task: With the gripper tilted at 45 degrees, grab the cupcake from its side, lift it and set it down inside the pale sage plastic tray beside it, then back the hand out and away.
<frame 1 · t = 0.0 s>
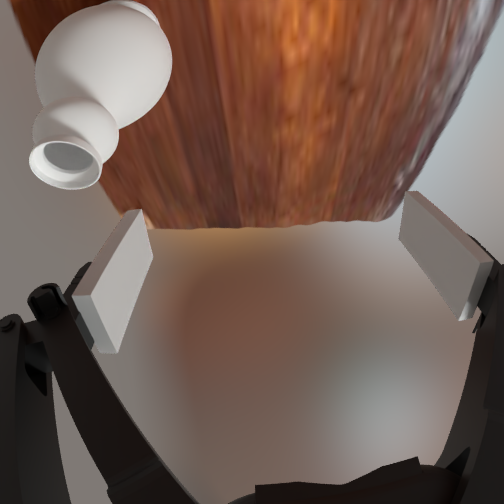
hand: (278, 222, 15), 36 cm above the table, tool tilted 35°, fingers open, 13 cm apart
decorative vase: (118, 34, 35), on the table
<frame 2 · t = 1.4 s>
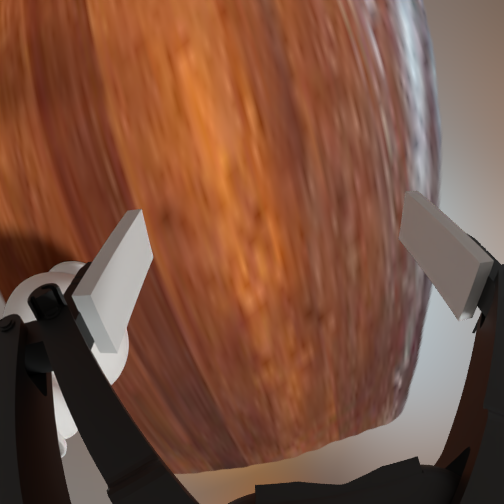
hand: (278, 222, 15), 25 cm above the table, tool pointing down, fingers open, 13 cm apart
decorative vase: (79, 297, 43), on the table
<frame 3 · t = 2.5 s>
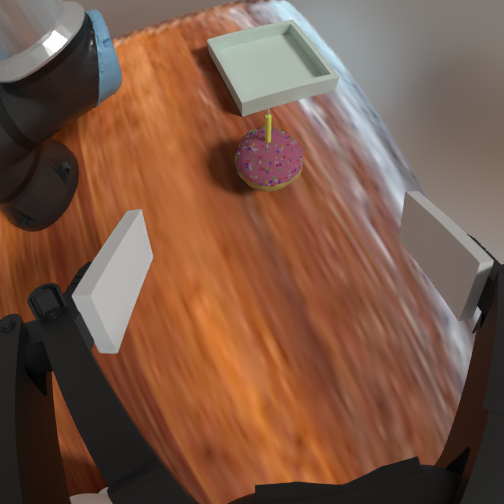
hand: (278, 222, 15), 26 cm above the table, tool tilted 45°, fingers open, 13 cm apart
cupcake: (267, 173, 43), on the table
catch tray: (269, 68, 47), on the table
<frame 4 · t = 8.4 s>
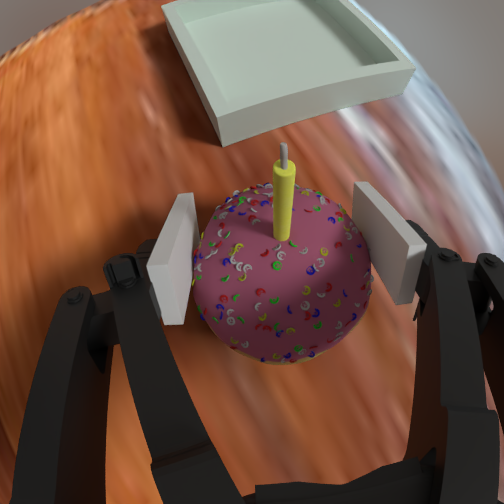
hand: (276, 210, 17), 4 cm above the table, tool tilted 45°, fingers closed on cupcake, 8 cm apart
cupcake: (278, 285, 20), on the table, touching gripper
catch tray: (278, 50, 24), on the table
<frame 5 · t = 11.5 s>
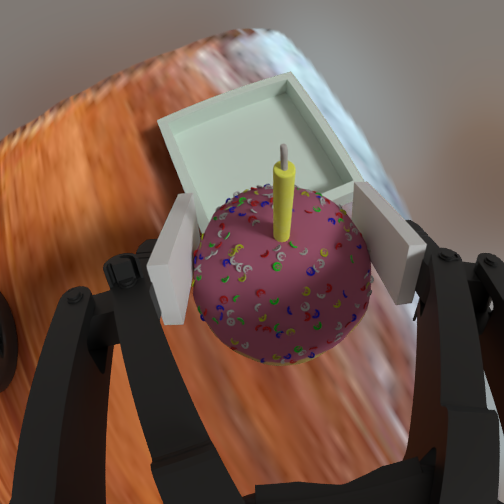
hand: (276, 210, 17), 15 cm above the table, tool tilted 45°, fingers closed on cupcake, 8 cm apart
cupcake: (278, 286, 20), point 11 cm above the table, touching gripper
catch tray: (256, 163, 34), on the table
when the fingers open (6 cm above the table, at t = 14.9 s): cupcake drops 1 cm, resting on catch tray.
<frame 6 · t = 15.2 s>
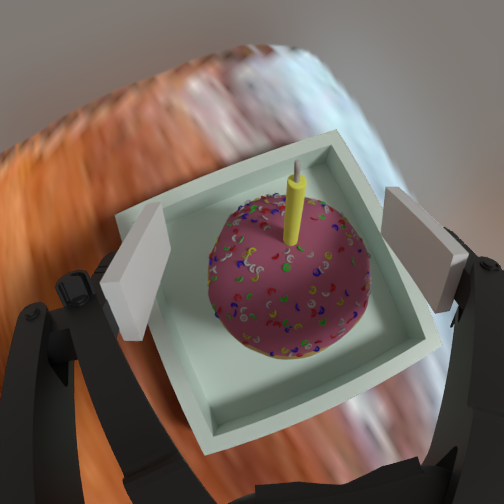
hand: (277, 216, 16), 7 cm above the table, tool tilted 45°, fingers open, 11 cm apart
cupcake: (283, 288, 21), point 1 cm above the table, touching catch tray
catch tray: (276, 289, 22), on the table
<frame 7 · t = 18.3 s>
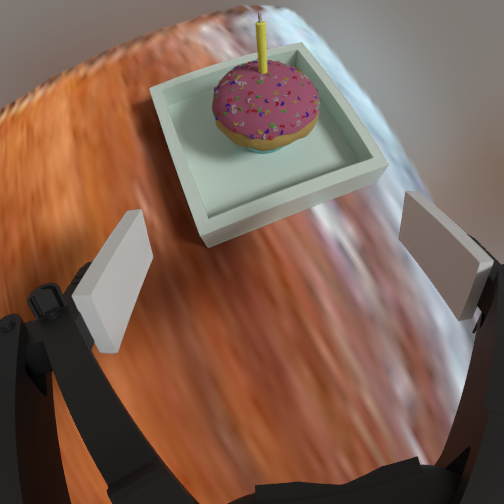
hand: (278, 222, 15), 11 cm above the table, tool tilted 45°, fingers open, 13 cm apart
cupcake: (265, 133, 28), point 1 cm above the table, touching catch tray
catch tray: (260, 138, 29), on the table
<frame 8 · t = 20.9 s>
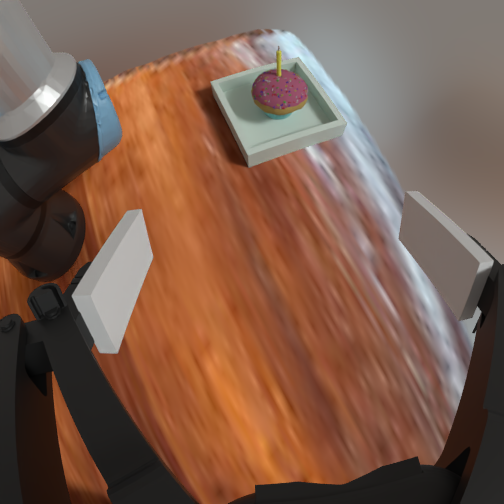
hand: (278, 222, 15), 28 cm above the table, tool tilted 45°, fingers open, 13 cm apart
cupcake: (278, 109, 48), point 1 cm above the table, touching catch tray
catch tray: (275, 112, 49), on the table
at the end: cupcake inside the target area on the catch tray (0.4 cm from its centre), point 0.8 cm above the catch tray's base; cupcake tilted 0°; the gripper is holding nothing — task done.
